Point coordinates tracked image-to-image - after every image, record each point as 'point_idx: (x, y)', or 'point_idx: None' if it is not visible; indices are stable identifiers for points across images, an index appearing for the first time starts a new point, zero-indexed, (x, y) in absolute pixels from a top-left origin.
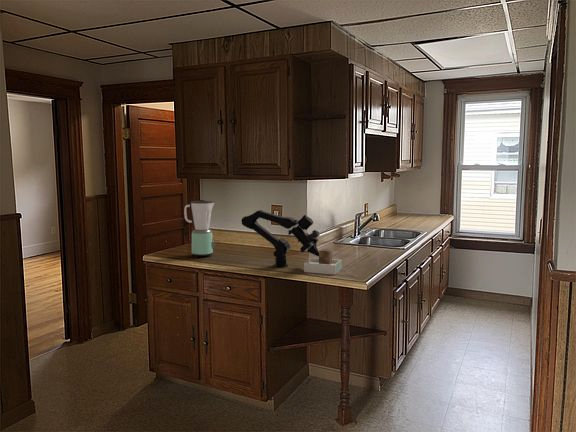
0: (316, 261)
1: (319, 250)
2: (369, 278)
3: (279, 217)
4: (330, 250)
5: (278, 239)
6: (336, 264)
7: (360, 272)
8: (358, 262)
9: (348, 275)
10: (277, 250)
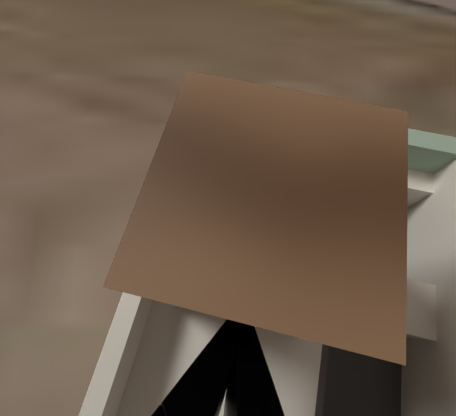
0: (127, 376)
1: (403, 354)
2: (440, 8)
3: None
4: (321, 100)
5: None
6: (433, 133)
7: (301, 39)
8: (4, 37)
9: (407, 103)
10: None
